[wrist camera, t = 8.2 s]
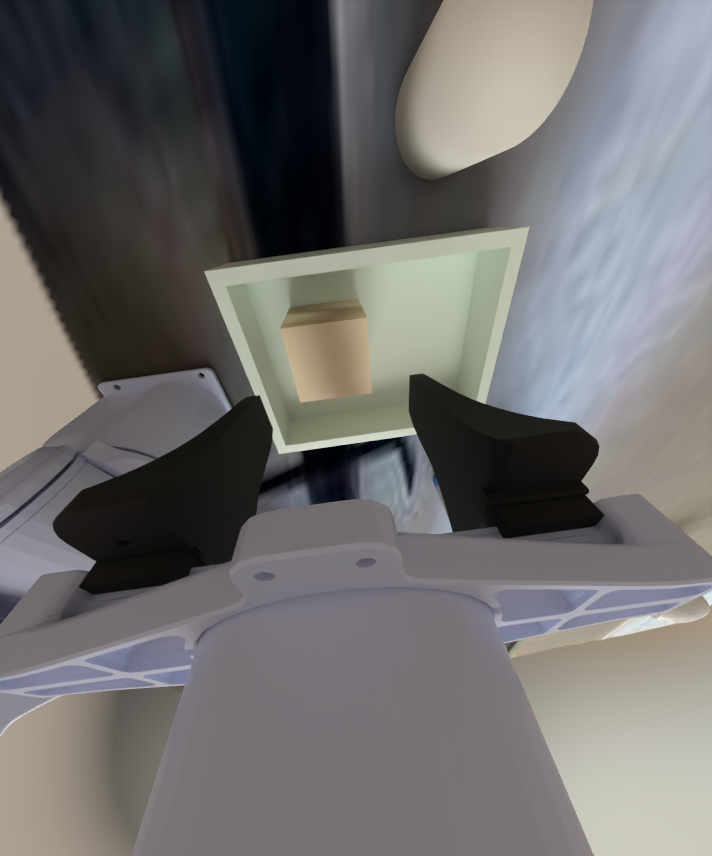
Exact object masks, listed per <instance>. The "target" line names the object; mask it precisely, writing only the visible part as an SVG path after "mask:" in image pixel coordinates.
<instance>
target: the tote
mask: <svg viewBox="0 0 712 856" xmlns="http://www.w3.org/2000/svg"><path fill="white" fill-rule="evenodd" d="M529 228H530V227H486V228H479V229H472V230H464V231H457V232H450V233H442V234H435V235H428V236H421V237H413V238H406V239H399V240H391V241H384V242H377V243H369V244H362V245H355V246H347V247H340V248H333V249H326V250H318V251H311V252H304V253H296V254H289V255H282V256H274V257H267V258H260V259H252V260H245V261H238V262H230V263H227V264H224V265H221V266H218V267H215V268H212V269H210V270H207V271H204V272H205V275H206V277H207V280H208V282H209V284H210V287H211V289H212V292H213V294H214V297H215V299H216V301H217V304H218V306H219V309H220V311H221V314H222V316H223V318H224V321H225V323H226V326H227V328H228V331H229V333H230V336H231V338H232V340H233V343H234V345H235V348H236V350H237V353H238V355H239V357H240V360H241V362H242V365H243V367H244V370H245V372H246V375H247V377H248V379H249V382H250V384H251V387H252V389H253V392H254V394H255V396H258V395H260V397H261V400H262V402H263V405H264V407H265V410H266V412H267V415H268V417H269V420H270V422H271V425H272V427H273V434H272V438H273V440H274V443H275V445H276V448H277V450H278V453H279V454H282V453H289V452H296V451H303V450H310V449H317V448H324V447H331V446H338V445H345V444H352V443H359V442H366V441H373V440H380V439H387V438H394V437H401V436H408V435H415V434H417V433H416V431H415V429H414V427H413V424H412V421H411V417H410V414H409V377H410V375H414V374H421V373H423V374H425V375H427V376H429V377H430V378H432V379H434V380H436V381H437V382H439V383H441V384H443V385H444V386H446V387H448V388H450V389H452V390H454V391H456V392H458V393H460V394H462V395H464V396H466V397H468V398H471V399H473V400H476V401H478V402H481V403H484V404H485V403H486V399H487V395H488V391H489V387H490V383H491V379H492V375H493V371H494V367H495V363H496V359H497V355H498V351H499V347H500V343H501V339H502V335H503V331H504V327H505V323H506V319H507V315H508V311H509V307H510V303H511V299H512V295H513V291H514V287H515V283H516V280H517V276H518V272H519V268H520V264H521V260H522V256H523V252H524V248H525V244H526V240H527V236H528V232H529ZM352 299H359V301H360V303H361V305H362V308H363V310H364V312H365V314H366V316H367V323H368V338H369V353H370V368H371V384H372V393H370V394H362V395H355V396H347V397H340V398H332V399H325V400H317V401H309V402H302V403H300V400H299V396H298V392H297V389H296V385H295V382H294V378H293V374H292V371H291V367H290V363H289V360H288V356H287V353H286V349H285V345H284V342H283V338H282V334H281V331H280V327H281V325H282V323H283V321H284V319H285V317H286V314H287V312H288V310H289V308H290V307H297V306H305V305H313V304H321V303H328V302H336V301H344V300H352Z"/></svg>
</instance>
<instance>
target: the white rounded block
mask: <svg viewBox="0 0 712 856" xmlns="http://www.w3.org/2000/svg"><path fill="white" fill-rule="evenodd" d="M709 611H710V607H709V604H708V603H707V601H706V600H705V599H704V597H703V596H700V597H698V598H696V599H694V600H692V601H690V602H688V603H686V604H684V605H681V606H679V607H677V608H675V609H673V610H671V611H669V612H667V613H660V614H653V615H649V616H651V617H652V618H655V619H658V620H662V621H666V622H674V623H685V622H691V621H695V620H697V619H700V618H702V617H704V616H706V615H707V614H708V613H709Z"/></svg>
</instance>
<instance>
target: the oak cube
mask: <svg viewBox="0 0 712 856" xmlns="http://www.w3.org/2000/svg"><path fill="white" fill-rule="evenodd" d="M280 331H281V334H282V338H283V342H284V345H285V349H286V353H287V356H288V360H289V363H290V367H291V371H292V374H293V378H294V382H295V385H296V389H297V392H298V396H299V400H300V403H302V402H309V401H317V400H325V399H332V398H340V397H347V396H355V395H362V394H370V393H372V384H371V368H370V353H369V338H368V323H367V316H366V314H365V312H364V310H363V308H362V305H361V303H360V301H359V299H352V300H344V301H336V302H328V303H321V304H313V305H305V306H297V307H290V308H289V310H288V312H287V314H286V317H285V319H284V321H283V323H282V325H281V327H280Z"/></svg>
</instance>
